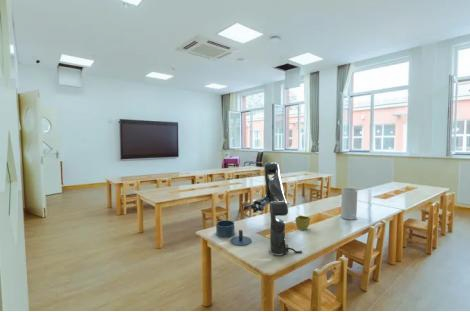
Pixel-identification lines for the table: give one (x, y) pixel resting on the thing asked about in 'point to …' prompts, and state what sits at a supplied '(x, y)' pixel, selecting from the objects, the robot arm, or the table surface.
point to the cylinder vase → (349, 203)
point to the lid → (240, 239)
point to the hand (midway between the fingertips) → (249, 209)
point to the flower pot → (302, 222)
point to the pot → (225, 228)
